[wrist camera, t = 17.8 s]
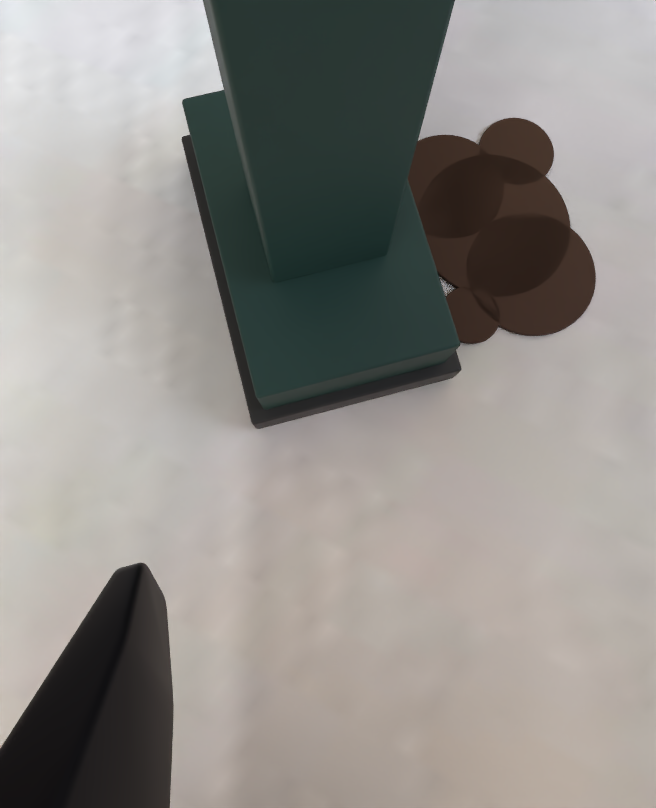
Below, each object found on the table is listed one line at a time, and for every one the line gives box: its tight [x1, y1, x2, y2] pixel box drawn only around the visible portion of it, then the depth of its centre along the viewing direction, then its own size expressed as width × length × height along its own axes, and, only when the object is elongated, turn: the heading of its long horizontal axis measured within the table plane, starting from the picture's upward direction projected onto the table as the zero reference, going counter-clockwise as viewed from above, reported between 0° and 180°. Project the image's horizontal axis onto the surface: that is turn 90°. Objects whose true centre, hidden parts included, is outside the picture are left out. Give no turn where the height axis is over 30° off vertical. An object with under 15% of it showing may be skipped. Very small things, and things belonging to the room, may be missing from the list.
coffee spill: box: [408, 118, 595, 344], centre depth 17 cm, size 7×6×1 cm
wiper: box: [182, 0, 461, 429], centre depth 10 cm, size 9×6×13 cm, turn 15°
